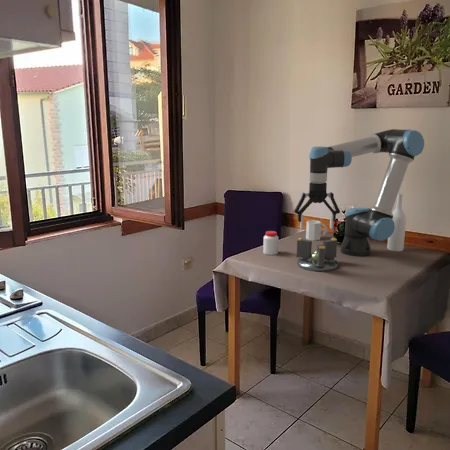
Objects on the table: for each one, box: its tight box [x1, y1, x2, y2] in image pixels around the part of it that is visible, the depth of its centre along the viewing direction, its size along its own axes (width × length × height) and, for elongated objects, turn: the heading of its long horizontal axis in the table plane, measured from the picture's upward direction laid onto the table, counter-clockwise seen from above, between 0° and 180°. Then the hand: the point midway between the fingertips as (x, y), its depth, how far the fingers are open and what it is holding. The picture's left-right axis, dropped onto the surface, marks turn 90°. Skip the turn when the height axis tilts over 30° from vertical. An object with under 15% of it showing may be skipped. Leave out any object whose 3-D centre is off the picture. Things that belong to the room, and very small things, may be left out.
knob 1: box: [296, 237, 313, 260], centre depth 219 cm, size 6×4×10 cm
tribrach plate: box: [297, 250, 339, 272], centre depth 216 cm, size 19×19×7 cm
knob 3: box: [322, 237, 338, 260], centre depth 219 cm, size 6×4×10 cm
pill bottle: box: [262, 230, 279, 256], centre depth 235 cm, size 8×8×11 cm
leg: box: [315, 244, 325, 268], centre depth 209 cm, size 6×4×10 cm
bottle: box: [386, 192, 407, 252], centre depth 237 cm, size 8×8×30 cm
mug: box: [305, 219, 328, 241], centre depth 261 cm, size 12×9×10 cm
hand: (316, 228), depth 207 cm, fingers open, 13 cm apart
